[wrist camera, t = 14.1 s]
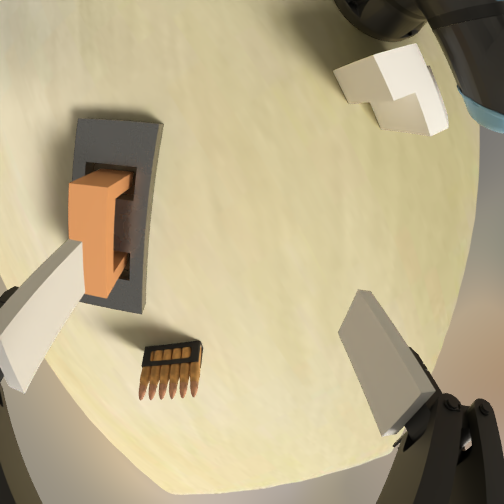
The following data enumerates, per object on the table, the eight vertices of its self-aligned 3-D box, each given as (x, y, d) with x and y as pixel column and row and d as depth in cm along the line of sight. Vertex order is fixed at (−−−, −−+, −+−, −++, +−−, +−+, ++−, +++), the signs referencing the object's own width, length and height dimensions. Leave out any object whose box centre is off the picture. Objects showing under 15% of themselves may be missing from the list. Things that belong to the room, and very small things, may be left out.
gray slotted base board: (87, 118, 33) (78, 118, 30) (163, 124, 35) (159, 124, 32) (83, 291, 44) (76, 301, 41) (145, 303, 46) (141, 314, 43)
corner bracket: (332, 70, 33) (372, 54, 23) (392, 51, 32) (441, 37, 21) (363, 137, 38) (410, 146, 27) (418, 113, 36) (470, 117, 26)
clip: (101, 168, 36) (68, 183, 27) (133, 172, 37) (107, 187, 28) (98, 257, 41) (72, 291, 32) (127, 262, 42) (106, 298, 33)
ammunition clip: (200, 340, 50) (198, 392, 39) (203, 347, 50) (201, 400, 40) (145, 346, 49) (132, 396, 39) (148, 353, 50) (137, 403, 39)
